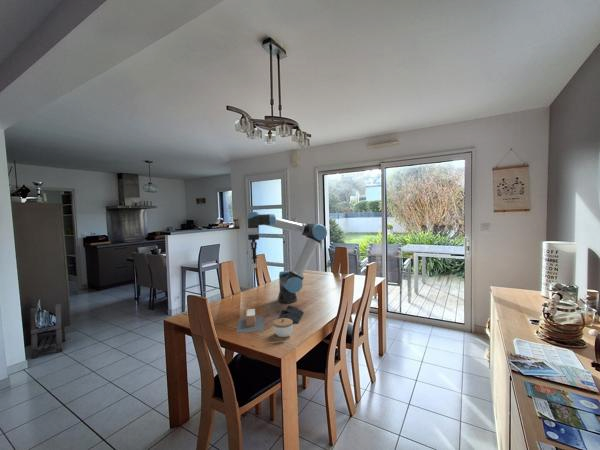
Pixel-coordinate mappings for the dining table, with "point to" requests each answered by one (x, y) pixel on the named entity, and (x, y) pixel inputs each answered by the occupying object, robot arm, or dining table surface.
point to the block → (250, 317)
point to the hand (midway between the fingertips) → (254, 267)
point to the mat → (244, 328)
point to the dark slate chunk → (292, 314)
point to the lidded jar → (283, 327)
